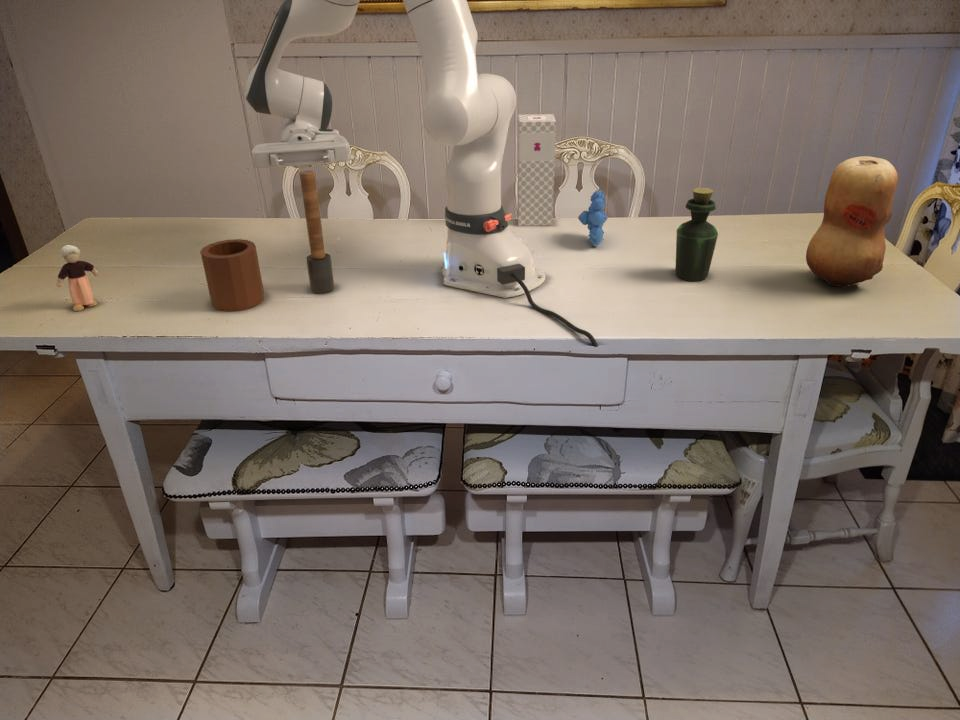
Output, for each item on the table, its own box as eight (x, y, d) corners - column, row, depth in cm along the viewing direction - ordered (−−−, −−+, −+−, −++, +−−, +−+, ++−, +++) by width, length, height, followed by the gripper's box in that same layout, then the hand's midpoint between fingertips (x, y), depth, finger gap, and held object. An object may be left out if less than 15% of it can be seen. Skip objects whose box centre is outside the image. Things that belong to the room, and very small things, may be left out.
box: (517, 214, 188) (518, 114, 176) (550, 214, 188) (553, 114, 176) (518, 225, 181) (519, 122, 168) (552, 225, 181) (556, 121, 168)
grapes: (577, 233, 175) (579, 184, 169) (605, 234, 174) (608, 184, 168) (576, 251, 165) (578, 199, 159) (606, 251, 164) (610, 199, 158)
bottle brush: (339, 288, 149) (325, 171, 138) (321, 295, 146) (304, 177, 134) (324, 282, 152) (309, 167, 140) (306, 289, 149) (288, 173, 137)
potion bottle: (718, 274, 152) (731, 189, 143) (699, 286, 147) (712, 199, 138) (683, 264, 157) (694, 182, 148) (663, 276, 152) (673, 191, 143)
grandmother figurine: (74, 314, 140) (54, 253, 134) (63, 310, 142) (42, 249, 136) (110, 300, 146) (92, 240, 140) (99, 296, 148) (81, 236, 142)
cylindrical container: (274, 298, 145) (265, 246, 140) (231, 316, 139) (219, 262, 133) (245, 286, 151) (235, 235, 146) (202, 302, 145) (190, 250, 139)
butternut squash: (801, 292, 144) (829, 165, 131) (800, 267, 155) (825, 148, 142) (879, 301, 139) (915, 171, 127) (872, 275, 150) (905, 152, 138)
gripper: (248, 135, 156) (248, 150, 144) (345, 129, 160) (351, 143, 149) (253, 165, 159) (253, 182, 147) (347, 157, 163) (354, 173, 152)
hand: (303, 162), depth 148 cm, fingers open, 8 cm apart
